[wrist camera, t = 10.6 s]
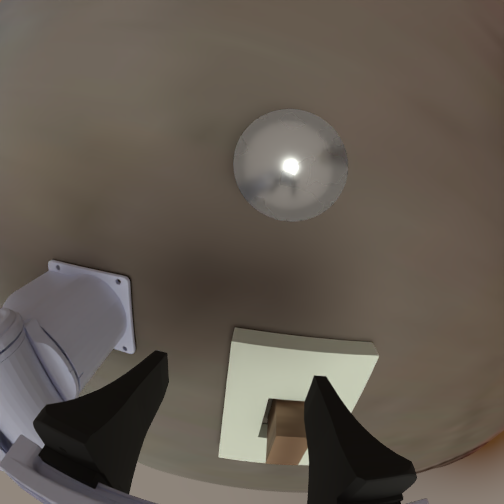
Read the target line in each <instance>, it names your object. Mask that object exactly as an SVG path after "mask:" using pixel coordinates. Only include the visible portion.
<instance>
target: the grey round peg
mask: <svg viewBox="0 0 504 504" xmlns="http://www.w3.org/2000/svg"><path fill="white" fill-rule="evenodd" d="M233 167H234V175H235V179H236V182H237V185H238V187H239V189H240V191H241V193H242V195H243V196H244V198H245V199H246V200H247V201H248V202H249V203H250V205H252V206H253V207H254V208H255V209H256V210H258V211H259V212H261V213H262V214H264V215H266V216H268V217H271V218H274V219H277V220H281V221H290V222H292V221H302V220H307V219H310V218H313V217H315V216H317V215H319V214H321V213H323V212H324V211H326V210H327V209H328V208H329V207H331V206H332V204H333V203H334V202H335V201H336V200H337V198H338V197H339V196H340V194H341V192H342V190H343V188H344V185H345V183H346V179H347V173H348V159H347V153H346V150H345V147H344V144H343V142H342V140H341V138H340V137H339V135H338V134H337V132H336V131H335V130H334V129H333V127H332V126H330V125H329V124H328V123H327V122H326V121H325V120H323V119H322V118H320V117H318V116H317V115H315V114H312V113H310V112H307V111H303V110H299V109H281V110H276V111H272V112H269V113H267V114H265V115H262V116H261V117H259V118H258V119H256V120H255V121H254V122H252V123H251V124H250V125H249V126H248V127H247V128H246V130H245V131H244V132H243V134H242V135H241V137H240V139H239V141H238V143H237V146H236V149H235V153H234V161H233Z"/></svg>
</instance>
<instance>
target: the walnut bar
mask: <svg viewBox="0 0 504 504" xmlns="http://www.w3.org/2000/svg"><path fill="white" fill-rule="evenodd" d="M304 402H305V401H294V400H282V399H273V401H272V405H271V408H270V412H269V415H268V424H267V446H266V464H281V465H298V464H299V462H300V461H301V459H302V457H303V455H304V454H305V452H306V450H307V448H308V447H307V440H306V432H305V424H304Z"/></svg>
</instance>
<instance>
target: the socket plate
mask: <svg viewBox="0 0 504 504" xmlns="http://www.w3.org/2000/svg"><path fill="white" fill-rule="evenodd" d="M378 357H379V354H378V352H377V350H376V348H375V346H374V344H373V342H361V341H347V340H335V339H324V338H314V337H304V336H295V335H287V334H279V333H271V332H263V331H256V330H249V329H243V328H236V327H235V329H234V333H233V337H232V342H231V350H230V359H229V367H228V376H227V385H226V393H225V402H224V411H223V420H222V429H221V438H220V448H219V457H221V458H227V459H234V460H241V461H250V462H259V463H266V446H267V424H262V420H263V417H264V413H265V409H266V406H267V402H268V398H272V399H282V400H294V401H305V399H306V396H307V394H308V391H309V388H310V386H311V383H312V380H313V377H314V375H316V376H326V377H327V378H328V380H329V381H330V383H331V385H332V386H333V388H334V389H335V391H336V392H337V394H338V396H339V397H340V399H341V400H342V401H343V403H344V404H345V406H346V407H347V408H348V410H349V411H350V412H352V410H353V408H354V407H355V405H356V403H357V401H358V399H359V397H360V395H361V393H362V391H363V389H364V387H365V385H366V383H367V381H368V379H369V377H370V375H371V373H372V371H373V368H374V366H375V364H376V362H377V360H378ZM298 465H309V456H308V448H307V450H306V452H305V454H304V455H303V457H302V459H301V461H300V462H299V464H298Z"/></svg>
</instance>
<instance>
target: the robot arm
mask: <svg viewBox="0 0 504 504" xmlns="http://www.w3.org/2000/svg"><path fill="white" fill-rule="evenodd" d="M59 267H60V268H59ZM48 268H49V271H47V272H46V273H44V274H42V275H41V276H39V277H37V278H36V279H34V280H32V281H31V282H29V283H28V284H26V285H24V286H23V287H21V288H20V289H18V290H17V291H15V292H13V293H12V294H11V295H10V296H9V297H8V298H7V300H6V301H5V303H4V305H3V307H2V308H0V470H1V471H4V472H5V473H6V474H7V475H8V476H9V477H10V478H11V479H12V480H13V481H14V482H15V483H16V484H18V485H19V486H20V487H21V488H22V489H23V490H25V491H26V492H27V493H29V494H30V495H32V496H33V497H34V498H36V499H38V500H39V501H40V502H42V503H43V504H156V503H153V502H150V501H147V500H144V499H141V498H138V497H135V496H132V495H129V491H130V487H131V483H132V478H133V475H134V471H135V467H136V463H137V460H138V457H139V454H140V450H141V447H142V444H143V441H144V438H145V436H146V433H147V431H148V429H149V427H150V425H151V423H152V421H153V419H154V417H155V415H156V413H157V411H158V409H159V406H160V404H161V402H162V400H163V398H164V395H165V392H166V389H167V386H168V383H169V377H168V359H167V353H165V352H161V351H154V352H153V353H151V354H150V355H149V356H148V357H147V358H145V359H144V360H143V361H142V362H140V363H139V364H138V365H137V366H135V367H134V368H133V369H131V370H130V371H129V372H127V373H126V374H124V375H123V376H121V377H120V378H118V379H117V380H115V381H114V382H112V383H110V384H108V385H107V386H105V387H103V388H101V389H99V390H97V391H94V392H92V393H89V394H87V395H84V396H82V397H78V395H79V393H80V392H81V391H82V389H83V388H84V387H85V385H86V384H87V383H88V381H89V380H90V379H91V377H92V376H93V375H94V373H95V372H96V371H97V369H98V368H99V367H100V365H101V364H102V363H103V361H104V360H105V359H106V357H107V356H108V355H109V354H110V352H111V351H112V350H113V349H116V350H119V351H123V352H126V353H130V354H133V353H134V352H135V351H136V348H135V339H134V329H133V317H132V304H131V286H130V280H129V278H128V277H126V276H123V275H118V274H113V273H109V272H104V271H100V270H95V269H90V268H86V267H82V266H77V265H73V264H69V263H64V262H60V261H56V260H50V261H49V262H48ZM118 279H119V280H120V281H121V283H120V282H119V281H118ZM125 347H126V348H125ZM304 424H305V432H306V440H307V447H308V456H309V484H308V501H307V504H401V502H400V501H402V500H403V496H402V493H403V492H404V491H405V490H407V489H408V488H409V487H410V486H411V485H412V484H413V483H414V482H415V481H416V479H417V476H416V472H415V469H414V466H413V464H412V462H411V461H409V460H408V459H406V458H404V457H402V456H400V455H398V454H396V453H395V452H393V451H392V450H390V449H389V448H387V447H386V446H384V445H383V444H382V443H380V442H379V441H378V440H377V439H376V438H374V437H373V436H372V435H371V434H370V433H369V432H368V431H367V430H366V429H365V428H364V427H363V426H362V425H361V424H360V423H359V422H358V421H357V420H356V419H355V417H354V416H353V415H352V414H351V412H350V411H349V410H348V408H347V407H346V406H345V404H344V403H343V401H342V400H341V399H340V397H339V396H338V394H337V392H336V391H335V389H334V388H333V386H332V385H331V383H330V381H329V380H328V378H327V377H326V376H316V375H314V377H313V380H312V383H311V386H310V388H309V391H308V394H307V396H306V399H305V402H304ZM407 504H429V503H428V500H427V498H425V499H422V500H418V501H414V502H410V503H407Z"/></svg>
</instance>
